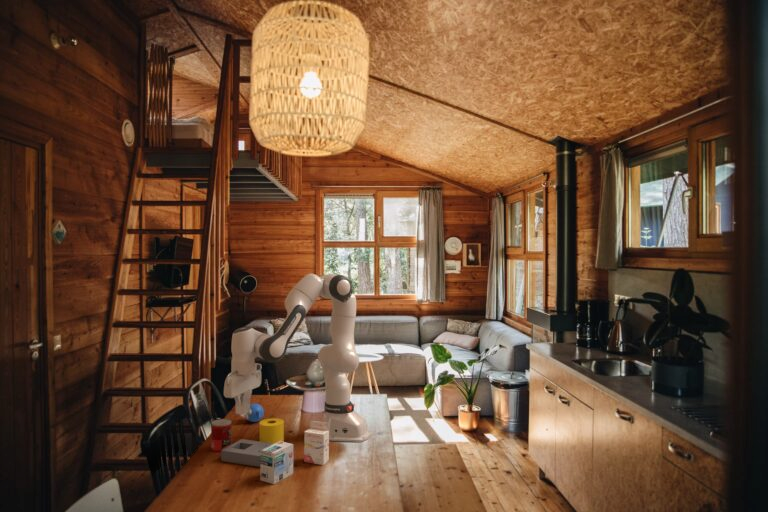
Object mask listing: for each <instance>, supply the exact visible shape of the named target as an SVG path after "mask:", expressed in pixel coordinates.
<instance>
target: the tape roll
mask: <svg viewBox="0 0 768 512" xmlns="http://www.w3.org/2000/svg"><path fill="white" fill-rule="evenodd" d="M284 440H285V420H284V419H282V418H278V417H277V418H273V417H270V418H265V419H263V420H262V419H261V420H259V442H267V443H274V444H275V443H277V442H279V441H282V442H285V441H284Z"/></svg>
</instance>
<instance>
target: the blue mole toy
mask: <svg viewBox="0 0 768 512" xmlns="http://www.w3.org/2000/svg"><path fill="white" fill-rule="evenodd" d="M264 413H265V411H264V408H263V406H262V405H261V404H259V403H250V412H249V413H247V414H245V415H242V414H239V418H243V419H245V420H247V421H248V422H251V423H256V422H257V423H258V422H260V421H262V419H263V417H264Z"/></svg>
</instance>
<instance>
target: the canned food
mask: <svg viewBox="0 0 768 512" xmlns="http://www.w3.org/2000/svg"><path fill="white" fill-rule="evenodd" d="M210 432H211V433H210V434H211V435H210V436H211V440H210V444H211V445H210V446H211V447H210V448H211V450H212V451H213V452H215V453H216V452H217V453H221V450H223V449H225V448H227V447H228V446H230V445H232V420H231V419H226V418H221V419H220V418H219V419H216V420H212V421H211V430H210Z"/></svg>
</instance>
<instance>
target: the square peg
mask: <svg viewBox="0 0 768 512" xmlns="http://www.w3.org/2000/svg"><path fill="white" fill-rule="evenodd" d="M240 400H241V401H242V405H240V406H236V405H235V414H236V415H245V414H247V413H249V412H250V405H251V396H250V389H249V390H247V391H244V393H243V394H241V397H240Z"/></svg>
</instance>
